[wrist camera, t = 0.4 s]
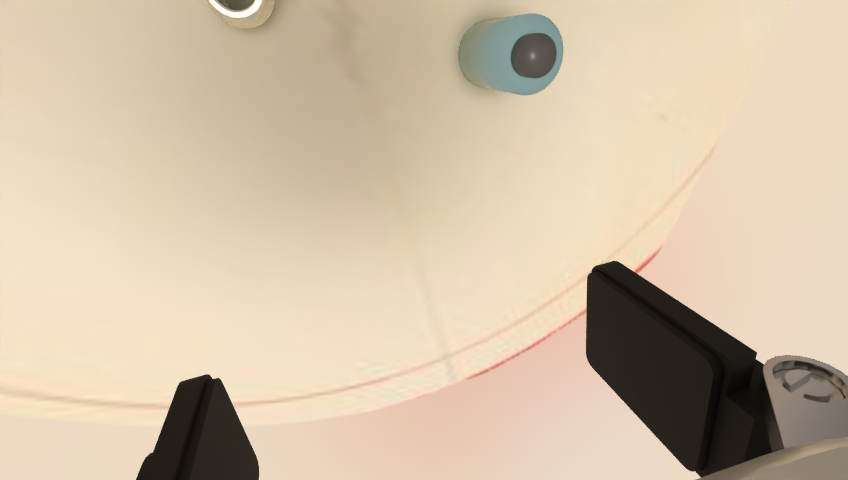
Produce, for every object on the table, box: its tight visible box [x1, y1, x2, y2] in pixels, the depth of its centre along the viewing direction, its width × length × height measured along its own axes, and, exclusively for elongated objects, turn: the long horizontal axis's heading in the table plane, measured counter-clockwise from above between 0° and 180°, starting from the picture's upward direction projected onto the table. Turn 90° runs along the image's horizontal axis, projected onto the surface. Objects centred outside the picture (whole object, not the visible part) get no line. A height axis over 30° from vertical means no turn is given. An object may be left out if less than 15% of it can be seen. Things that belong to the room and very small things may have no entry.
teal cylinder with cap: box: [459, 14, 563, 95], centre depth 33 cm, size 5×5×9 cm
